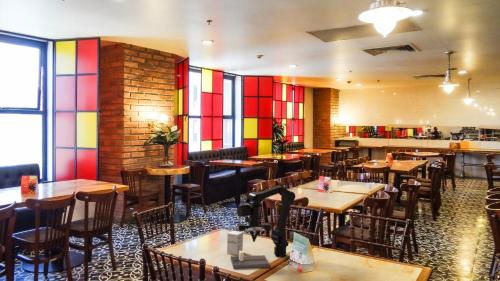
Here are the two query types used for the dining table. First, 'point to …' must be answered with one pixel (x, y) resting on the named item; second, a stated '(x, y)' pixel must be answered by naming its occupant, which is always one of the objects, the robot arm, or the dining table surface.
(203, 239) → the dining table surface
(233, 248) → the supplement box
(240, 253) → the fader tab
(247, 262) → the console
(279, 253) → the robot arm
